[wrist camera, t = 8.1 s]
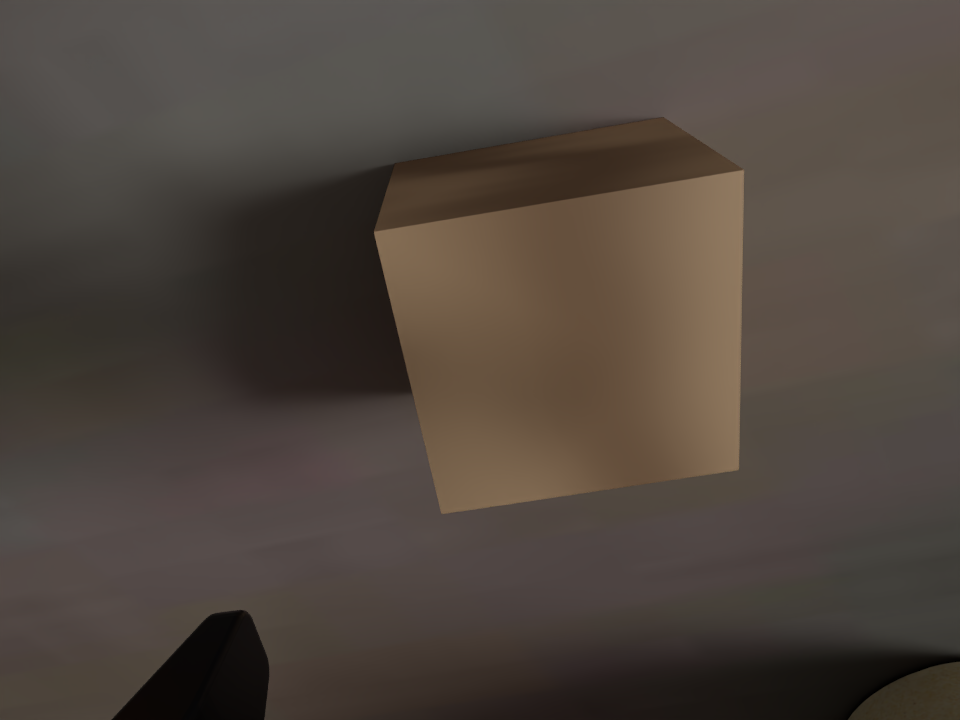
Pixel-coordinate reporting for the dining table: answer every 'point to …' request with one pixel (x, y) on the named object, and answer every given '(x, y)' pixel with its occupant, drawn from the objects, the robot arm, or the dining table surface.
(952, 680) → the plant pot
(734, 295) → the cardboard box
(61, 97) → the dining table surface
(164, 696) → the robot arm
